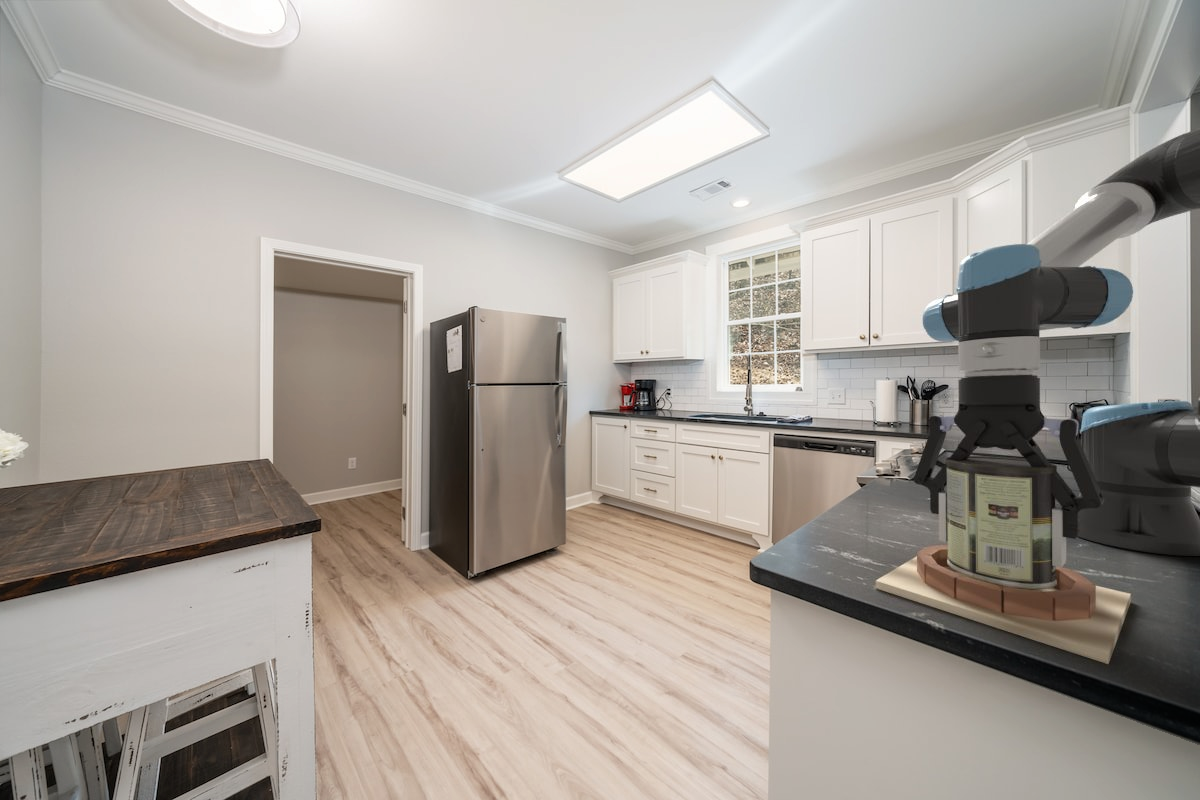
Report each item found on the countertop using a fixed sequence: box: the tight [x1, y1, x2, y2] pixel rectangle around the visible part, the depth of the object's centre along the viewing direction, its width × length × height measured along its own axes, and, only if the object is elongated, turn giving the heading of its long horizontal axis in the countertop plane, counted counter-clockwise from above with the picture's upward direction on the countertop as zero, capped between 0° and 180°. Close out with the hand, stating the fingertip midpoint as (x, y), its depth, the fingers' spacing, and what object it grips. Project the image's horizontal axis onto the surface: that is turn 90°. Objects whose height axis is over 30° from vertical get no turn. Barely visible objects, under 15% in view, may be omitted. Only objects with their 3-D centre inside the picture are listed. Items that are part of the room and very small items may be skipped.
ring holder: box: [875, 544, 1132, 665], centre depth 55 cm, size 20×20×4 cm
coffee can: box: [944, 455, 1058, 590], centre depth 55 cm, size 10×10×14 cm
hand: (997, 550), depth 55 cm, fingers closed on coffee can, 10 cm apart
